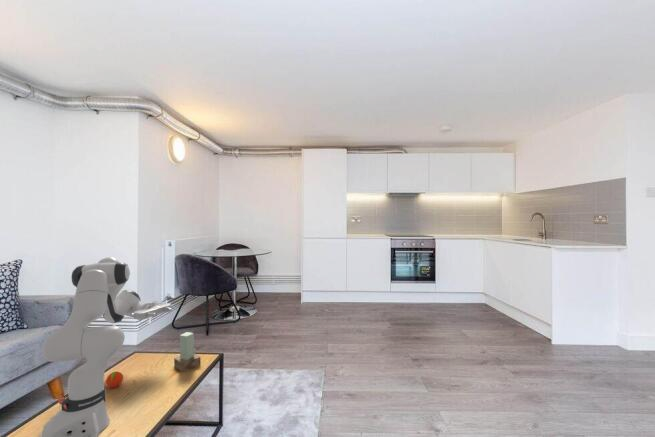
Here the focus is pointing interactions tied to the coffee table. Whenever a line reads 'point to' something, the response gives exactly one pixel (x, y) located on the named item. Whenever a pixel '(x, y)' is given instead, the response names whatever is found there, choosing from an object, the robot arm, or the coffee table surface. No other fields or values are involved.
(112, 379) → the red tomato
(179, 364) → the walnut block
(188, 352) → the sage block
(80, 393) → the robot arm
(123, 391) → the coffee table surface
